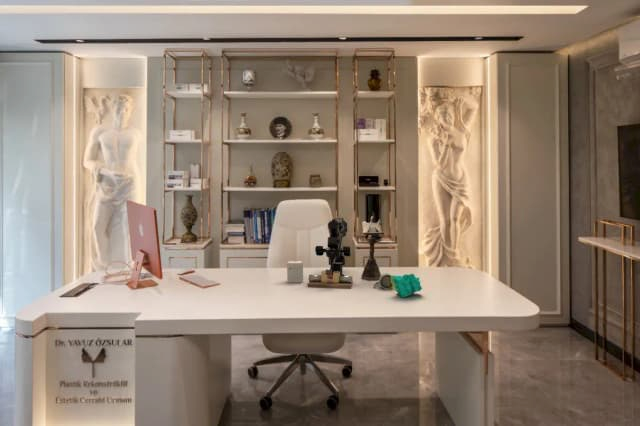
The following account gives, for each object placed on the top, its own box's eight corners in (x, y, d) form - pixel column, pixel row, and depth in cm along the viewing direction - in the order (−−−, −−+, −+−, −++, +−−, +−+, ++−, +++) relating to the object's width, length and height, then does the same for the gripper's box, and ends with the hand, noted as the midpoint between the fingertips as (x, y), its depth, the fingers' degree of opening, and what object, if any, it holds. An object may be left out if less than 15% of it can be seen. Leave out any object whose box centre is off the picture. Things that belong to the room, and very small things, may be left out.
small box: (303, 280, 264) (303, 261, 263) (302, 282, 259) (302, 263, 258) (288, 280, 265) (288, 260, 264) (287, 282, 259) (286, 262, 259)
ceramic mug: (392, 285, 252) (392, 271, 251) (394, 289, 244) (394, 274, 243) (372, 286, 252) (372, 271, 252) (373, 289, 244) (373, 274, 244)
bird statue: (386, 282, 259) (387, 216, 257) (361, 282, 260) (362, 216, 258) (384, 276, 276) (385, 214, 273) (361, 275, 277) (361, 214, 274)
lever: (328, 276, 254) (325, 269, 244) (333, 276, 253) (331, 269, 244) (327, 279, 253) (325, 273, 243) (333, 280, 253) (331, 273, 243)
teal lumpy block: (390, 277, 240) (414, 265, 238) (400, 299, 238) (425, 288, 235) (386, 277, 226) (412, 265, 224) (397, 301, 223) (423, 289, 221)
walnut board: (311, 282, 260) (311, 279, 260) (352, 283, 257) (352, 280, 257) (307, 286, 248) (307, 284, 248) (350, 288, 245) (350, 285, 245)
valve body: (310, 280, 256) (310, 270, 256) (352, 282, 253) (352, 271, 253) (308, 282, 252) (308, 271, 252) (351, 283, 249) (351, 273, 248)
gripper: (315, 230, 261) (312, 254, 251) (350, 231, 258) (348, 255, 249) (317, 243, 270) (314, 266, 260) (351, 243, 267) (349, 268, 257)
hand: (331, 264), depth 256 cm, fingers closed
